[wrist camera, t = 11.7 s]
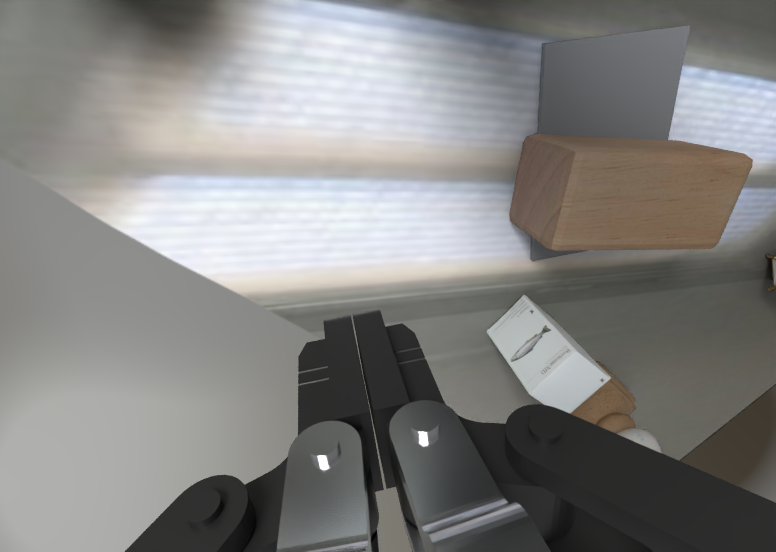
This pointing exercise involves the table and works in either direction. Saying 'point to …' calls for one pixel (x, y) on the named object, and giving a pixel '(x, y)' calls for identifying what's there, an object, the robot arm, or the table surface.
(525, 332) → the supplement box
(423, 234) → the table surface
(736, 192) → the block
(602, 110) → the mat
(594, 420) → the candle holder
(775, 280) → the game die
